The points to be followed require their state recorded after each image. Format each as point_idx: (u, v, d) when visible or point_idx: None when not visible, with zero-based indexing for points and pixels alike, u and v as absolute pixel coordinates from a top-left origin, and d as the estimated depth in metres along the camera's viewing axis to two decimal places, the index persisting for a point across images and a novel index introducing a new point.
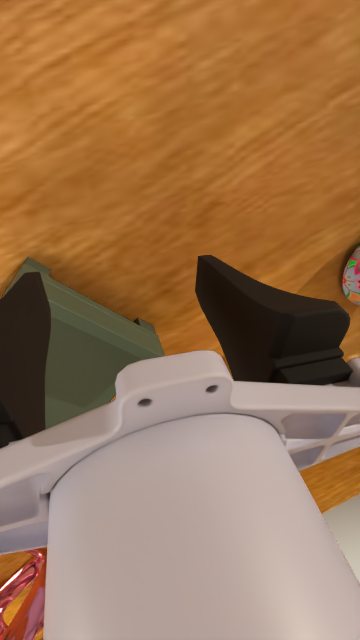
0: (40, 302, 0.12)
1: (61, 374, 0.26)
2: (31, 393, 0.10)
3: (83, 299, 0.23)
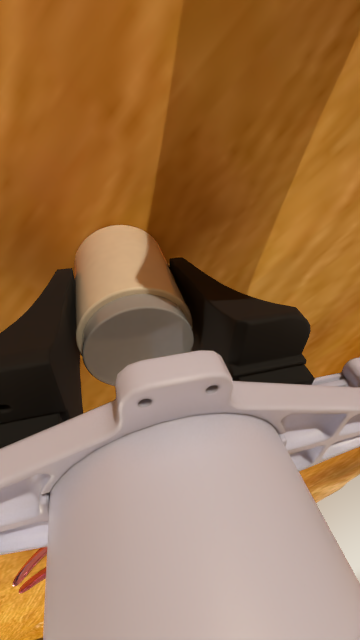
0: (74, 298, 0.13)
1: None
2: (74, 385, 0.10)
3: None
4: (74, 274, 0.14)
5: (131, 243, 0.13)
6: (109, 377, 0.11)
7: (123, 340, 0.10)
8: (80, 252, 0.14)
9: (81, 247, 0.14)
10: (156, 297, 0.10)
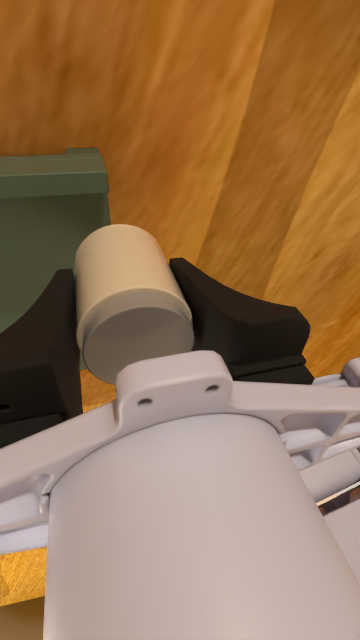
0: (74, 298, 0.13)
1: (30, 279, 0.19)
2: (74, 385, 0.10)
3: None
4: None
5: (132, 242, 0.13)
6: (109, 376, 0.11)
7: (123, 339, 0.10)
8: (80, 251, 0.14)
9: (81, 246, 0.14)
10: (157, 296, 0.10)
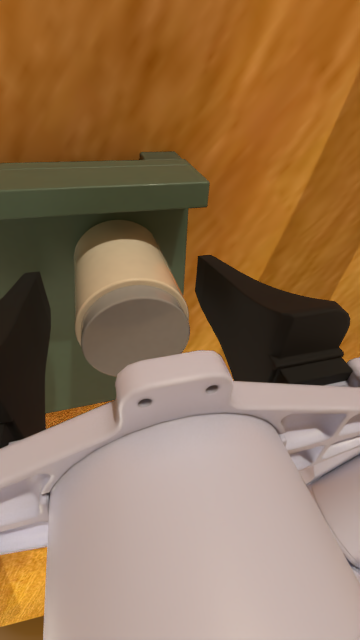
0: (40, 302, 0.12)
1: None
2: (31, 393, 0.10)
3: (10, 167, 0.12)
4: None
5: (129, 237, 0.13)
6: (107, 367, 0.12)
7: (121, 330, 0.11)
8: (79, 246, 0.14)
9: (80, 241, 0.14)
10: (153, 288, 0.11)
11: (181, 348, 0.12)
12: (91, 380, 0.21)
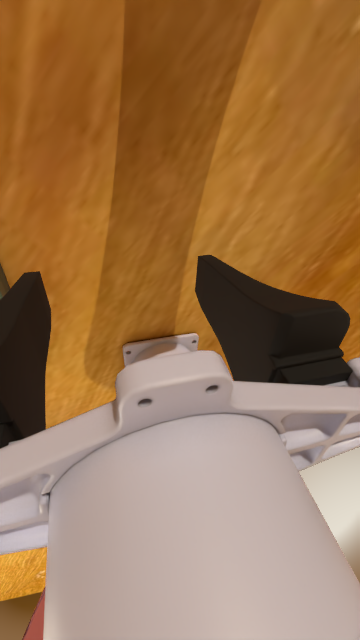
0: (40, 302, 0.12)
1: None
2: (31, 393, 0.10)
3: None
4: None
5: None
6: None
7: None
8: None
9: None
10: None
11: None
12: None
